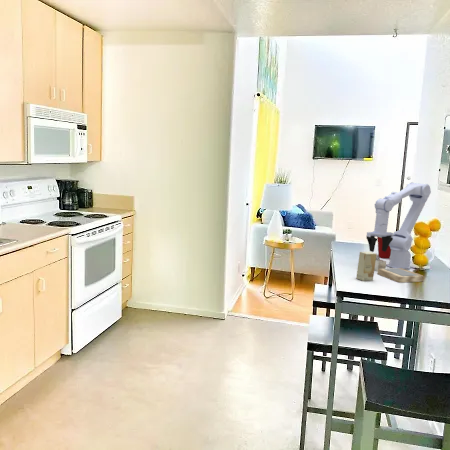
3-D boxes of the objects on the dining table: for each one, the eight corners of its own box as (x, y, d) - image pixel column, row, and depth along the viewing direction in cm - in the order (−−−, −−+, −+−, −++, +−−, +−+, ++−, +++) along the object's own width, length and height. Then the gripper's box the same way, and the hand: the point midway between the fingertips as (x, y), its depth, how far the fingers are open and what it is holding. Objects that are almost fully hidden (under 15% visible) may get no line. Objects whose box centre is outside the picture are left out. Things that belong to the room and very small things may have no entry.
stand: (400, 273, 215) (401, 267, 215) (423, 281, 202) (424, 275, 202) (377, 274, 210) (377, 268, 209) (399, 282, 197) (399, 276, 197)
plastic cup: (398, 259, 246) (401, 238, 244) (382, 260, 242) (385, 238, 240) (385, 255, 256) (388, 234, 254) (369, 255, 252) (372, 234, 250)
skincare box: (362, 281, 195) (366, 253, 193) (355, 278, 199) (359, 251, 197) (373, 280, 198) (377, 253, 196) (366, 277, 202) (369, 251, 200)
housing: (373, 267, 224) (375, 255, 223) (384, 271, 217) (386, 259, 216) (366, 267, 222) (367, 255, 221) (377, 271, 215) (379, 259, 214)
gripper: (387, 222, 222) (383, 249, 224) (363, 222, 217) (360, 249, 219) (397, 224, 216) (394, 252, 218) (373, 224, 210) (370, 252, 212)
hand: (377, 251), depth 218 cm, fingers open, 7 cm apart
